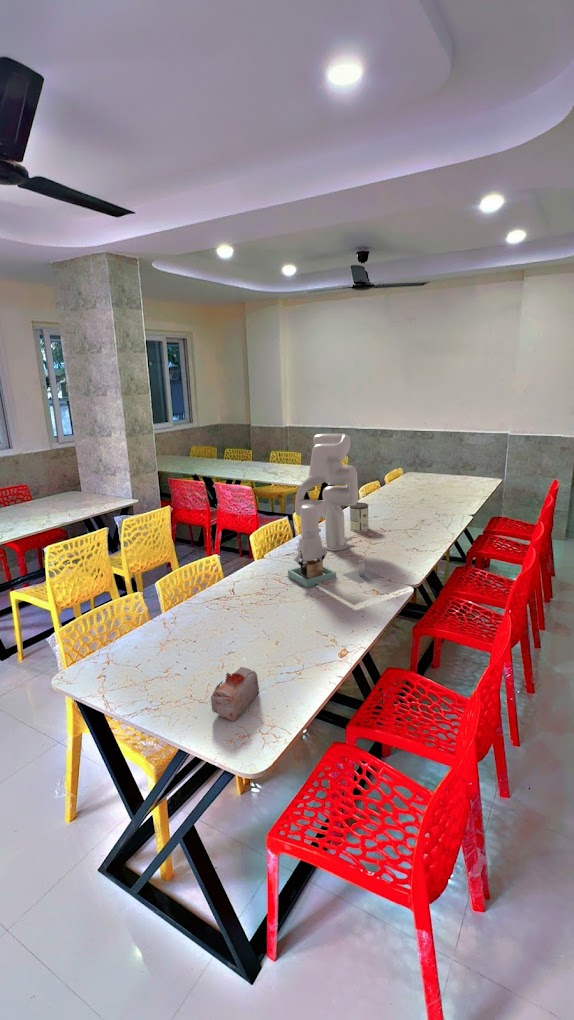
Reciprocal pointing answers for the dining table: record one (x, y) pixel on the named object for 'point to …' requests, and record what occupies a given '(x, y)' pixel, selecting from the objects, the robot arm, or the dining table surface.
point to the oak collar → (314, 568)
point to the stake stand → (361, 574)
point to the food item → (235, 693)
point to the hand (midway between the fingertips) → (311, 572)
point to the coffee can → (359, 517)
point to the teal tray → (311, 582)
